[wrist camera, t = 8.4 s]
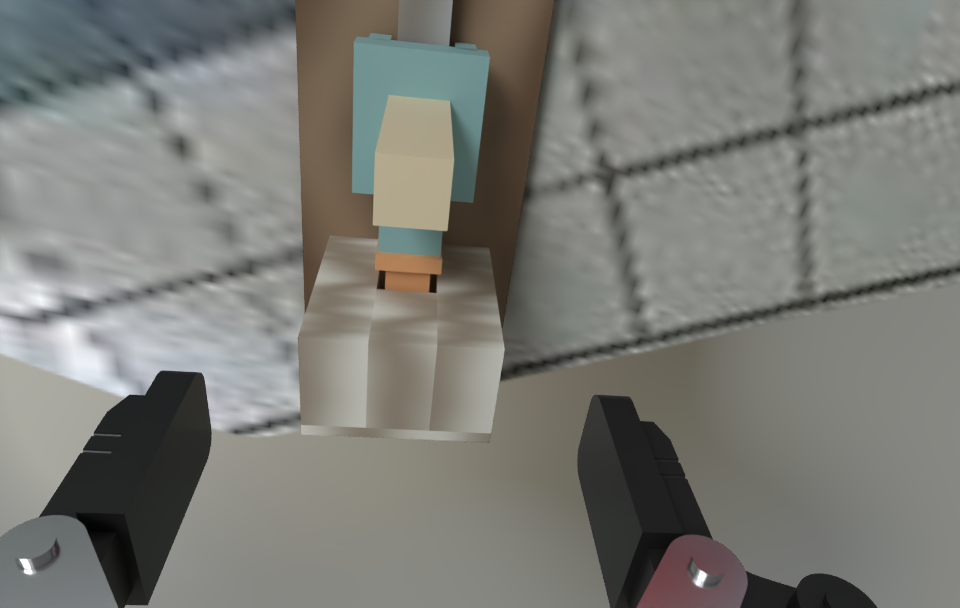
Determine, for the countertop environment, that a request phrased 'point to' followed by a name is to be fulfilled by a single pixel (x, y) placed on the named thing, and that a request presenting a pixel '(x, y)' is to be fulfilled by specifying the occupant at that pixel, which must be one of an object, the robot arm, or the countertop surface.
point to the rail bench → (353, 238)
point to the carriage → (416, 135)
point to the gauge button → (408, 270)
